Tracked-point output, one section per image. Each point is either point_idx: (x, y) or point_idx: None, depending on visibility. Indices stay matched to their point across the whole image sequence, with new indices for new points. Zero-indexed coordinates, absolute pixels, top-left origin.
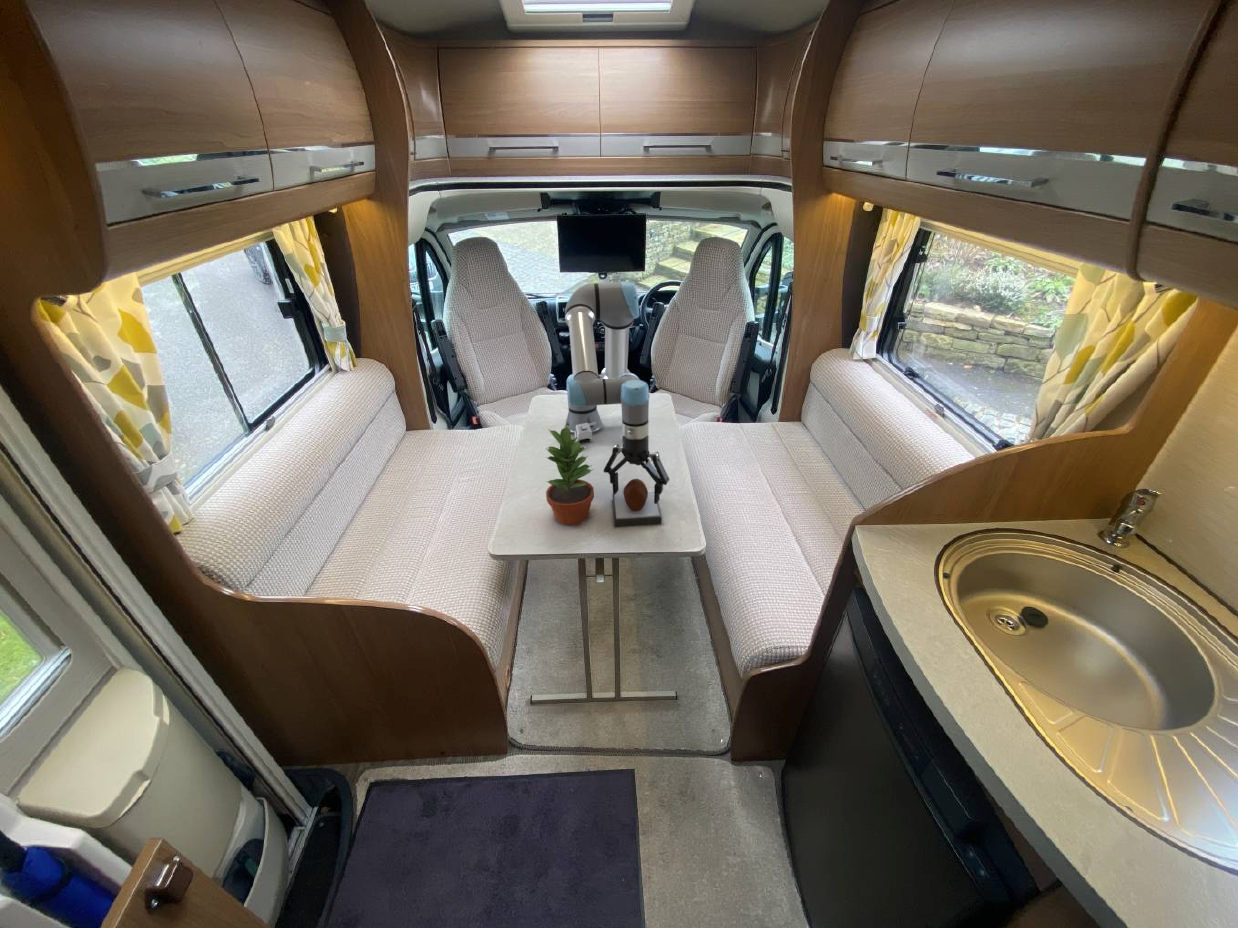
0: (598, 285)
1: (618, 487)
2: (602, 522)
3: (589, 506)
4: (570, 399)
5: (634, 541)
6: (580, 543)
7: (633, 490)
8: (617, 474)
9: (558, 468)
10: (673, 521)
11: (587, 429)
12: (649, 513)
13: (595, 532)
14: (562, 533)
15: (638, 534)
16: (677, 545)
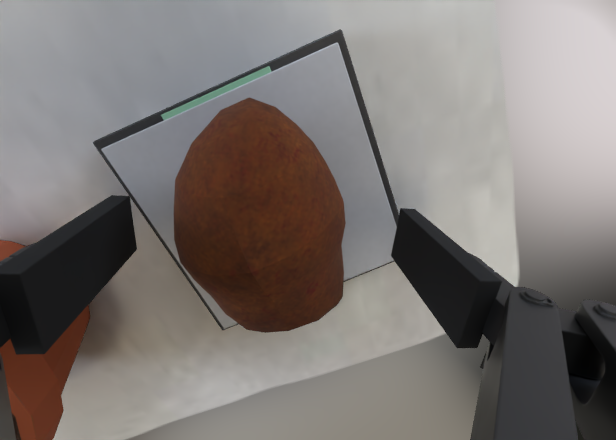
0: None
1: (118, 205)
2: (166, 301)
3: (64, 352)
4: None
5: (324, 348)
6: (158, 408)
7: (276, 330)
8: (35, 279)
9: None
10: (443, 205)
11: None
12: (358, 259)
13: (174, 354)
14: (65, 394)
15: (327, 315)
16: None
